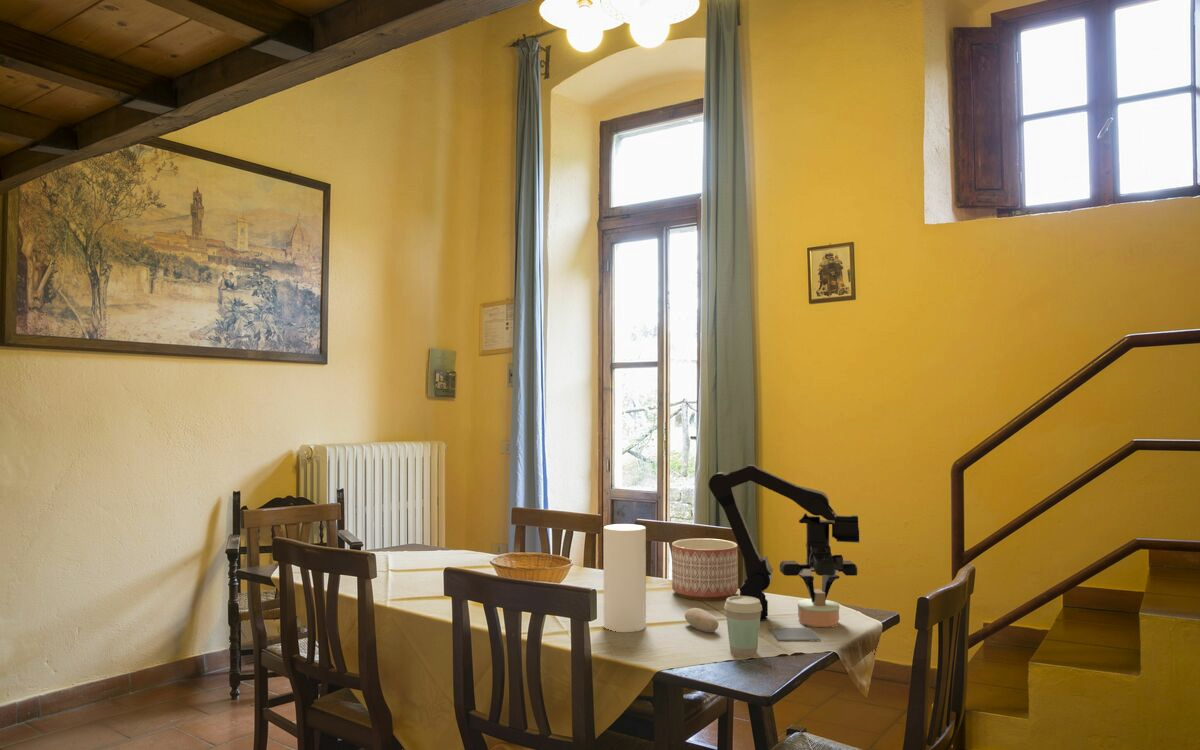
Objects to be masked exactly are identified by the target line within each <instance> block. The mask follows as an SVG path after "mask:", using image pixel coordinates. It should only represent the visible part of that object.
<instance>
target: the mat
mask: <svg viewBox="0 0 1200 750" xmlns="http://www.w3.org/2000/svg"><path fill="white" fill-rule="evenodd" d="M769 629H770V630H769ZM768 630H769V631H770V632H771V634H772V635H773V634H774V635H773V636H774V637H775V639H776V638H777V639H776V640H777V641H778V642H818V641H817V640H820V641H821V638H820V637H819V636H818V635H817V634H816V632H814V631H813V630H812V629H811V627H769V628H768ZM810 640H811V641H810ZM812 640H814V641H812Z"/></svg>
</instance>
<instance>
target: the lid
mask: <svg viewBox="0 0 1200 750" xmlns="http://www.w3.org/2000/svg"><path fill="white" fill-rule="evenodd" d="M814 596H815V598H814V602H812V600H811V598H806V599H800V600H798V601H797V608H798V607H799V608H801V609H803V610H807V611H813V612H833V611H837V610H839V611H840V607H841V606H840V604H839V603H838V602H836V601H832V600H830V599H829V600H828V599H826V601H825V593H824V592H823V591H822V588H821V589H820V588H815V589H814Z"/></svg>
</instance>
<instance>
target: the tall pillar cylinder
mask: <svg viewBox="0 0 1200 750" xmlns="http://www.w3.org/2000/svg"><path fill="white" fill-rule="evenodd" d="M646 529H647V528H646V526H644V525H640V524H634V523H631V524H630V523H615V524H608V525H604V527H603V628H604V627H605V628H606V629H605V628H604V629H605V630H607V629H609V630H608V631H610V630H612V631H611V632H615V631H616V632H617V633H634V632H635V631H636V632H639V631H643V630H645V629H646V627H647V619H646V618H647V613H646V612H647V604H646V603H647V601H646V599H647V594H646V593H647V591H646V589H647V586H646V585H647V581H646V580H647V579H646V577H647V570H646V569H647V568H646V567H647V565H646V564H647V563H646V562H647V561H646V560H647V557H646V554H647V551H646V550H647V549H646V548H647V547H646V546H647V545H646V543H647V542H646V541H647V539H646V538H647V537H646V535H647V533H646V531H647V530H646Z"/></svg>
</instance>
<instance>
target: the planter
mask: <svg viewBox="0 0 1200 750" xmlns="http://www.w3.org/2000/svg"><path fill="white" fill-rule="evenodd" d="M738 547H739V545H738V543H737V542H735V541H731V540H725V539H718V538H703V537H702V538H701V537H700V538H699V537H698V538H687V539H686V538H685V539H683V538H682V539H678V540H675V541H673V542H672V543H671V558H672V559H671V574H672V575H671V579H672V580H671V581H672V582H671V589H672V590H673V592H675V593H677V594H678V595H679V596H680V597H682V598H686V599H690V600H695V601H696V600H697V601H721V600H725V599H727V598H729V597H732V596H733V595H734V594H736V593H738V591H739V590H738V589H739V583H738V581H739V580H738V579H739V577H738V576H739V573H738V570H739V568H738V567H739V566H738V563H739V562H738V551H739V550H738V549H739V548H738Z"/></svg>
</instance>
